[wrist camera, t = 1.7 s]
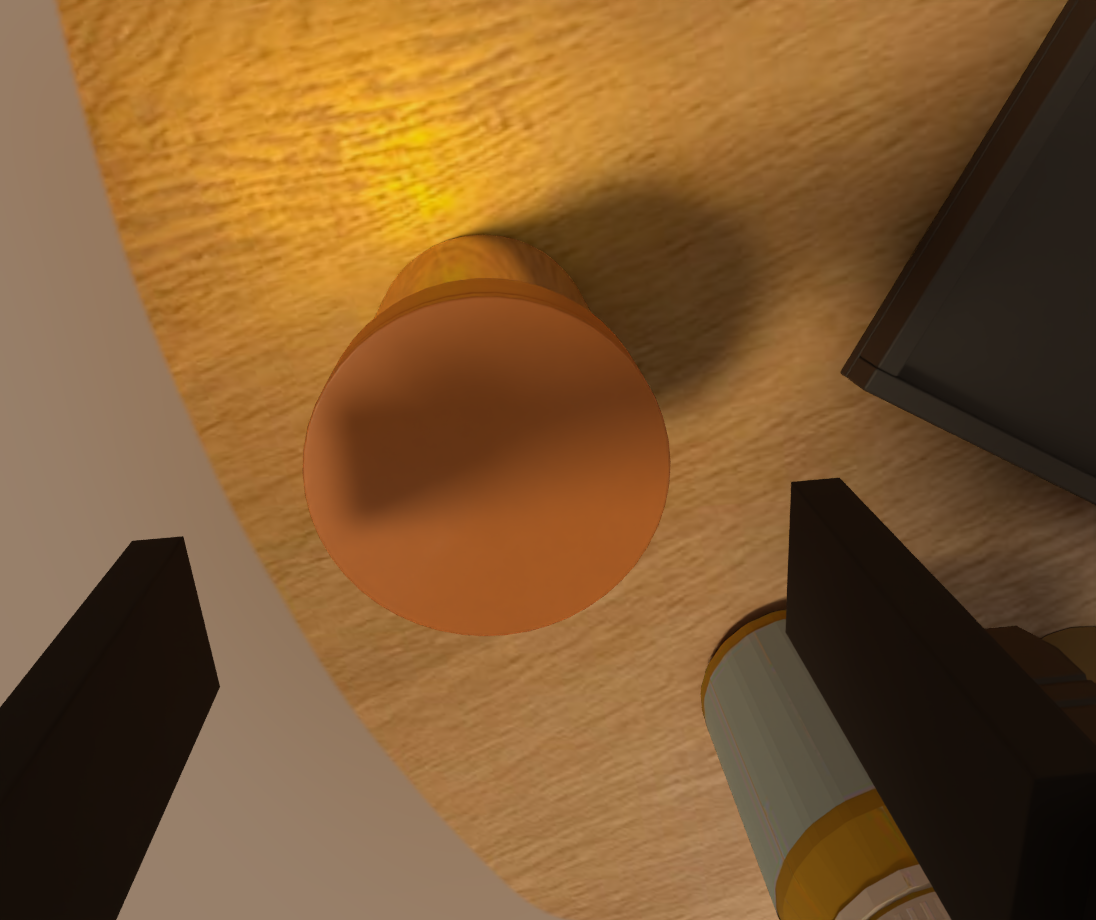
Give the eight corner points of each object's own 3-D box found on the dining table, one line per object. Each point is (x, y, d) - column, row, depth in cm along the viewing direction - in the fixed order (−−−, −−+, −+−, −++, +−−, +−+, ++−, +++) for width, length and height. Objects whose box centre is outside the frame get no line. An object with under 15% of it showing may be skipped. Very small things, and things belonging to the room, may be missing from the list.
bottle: (678, 742, 35) (810, 1154, 21) (722, 587, 33) (903, 939, 19) (843, 758, 36) (1072, 1164, 22) (897, 609, 34) (1193, 960, 20)
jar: (534, 477, 31) (563, 655, 21) (342, 395, 29) (271, 545, 19) (630, 293, 29) (712, 393, 19) (428, 194, 27) (399, 245, 17)
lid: (560, 634, 22) (569, 684, 20) (269, 522, 21) (247, 565, 19) (712, 366, 20) (737, 393, 18) (398, 215, 18) (389, 228, 16)
